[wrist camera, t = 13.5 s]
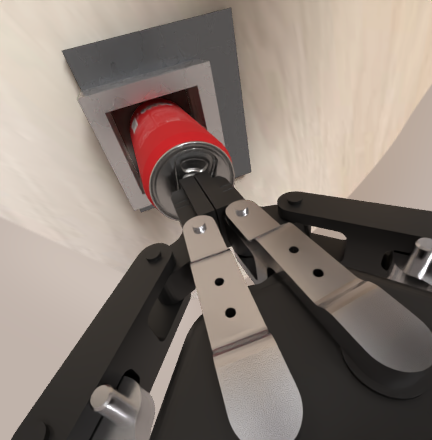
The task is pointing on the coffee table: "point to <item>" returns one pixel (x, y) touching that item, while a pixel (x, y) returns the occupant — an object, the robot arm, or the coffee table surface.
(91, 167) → the coffee table surface
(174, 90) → the jig
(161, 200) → the beverage can
